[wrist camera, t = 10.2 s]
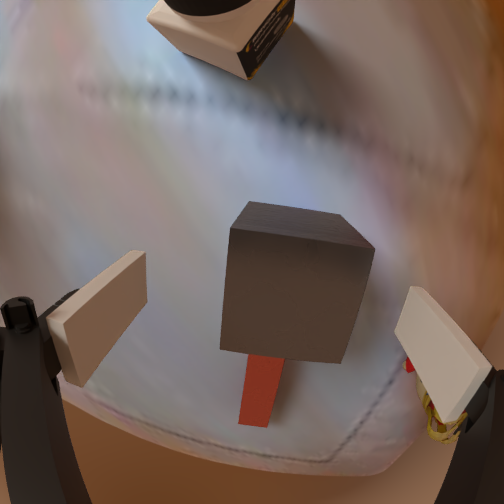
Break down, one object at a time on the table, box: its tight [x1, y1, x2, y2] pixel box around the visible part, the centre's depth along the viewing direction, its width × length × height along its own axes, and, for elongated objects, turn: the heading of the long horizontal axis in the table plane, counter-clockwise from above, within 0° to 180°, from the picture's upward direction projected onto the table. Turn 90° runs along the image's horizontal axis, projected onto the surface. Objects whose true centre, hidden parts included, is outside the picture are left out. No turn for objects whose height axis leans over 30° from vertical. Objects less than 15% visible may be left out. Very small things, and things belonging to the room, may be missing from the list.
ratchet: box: [238, 354, 285, 428], centre depth 22 cm, size 23×5×8 cm, turn 173°
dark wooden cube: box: [220, 201, 375, 364], centre depth 17 cm, size 6×6×8 cm
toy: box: [403, 357, 468, 444], centre depth 18 cm, size 7×7×15 cm
